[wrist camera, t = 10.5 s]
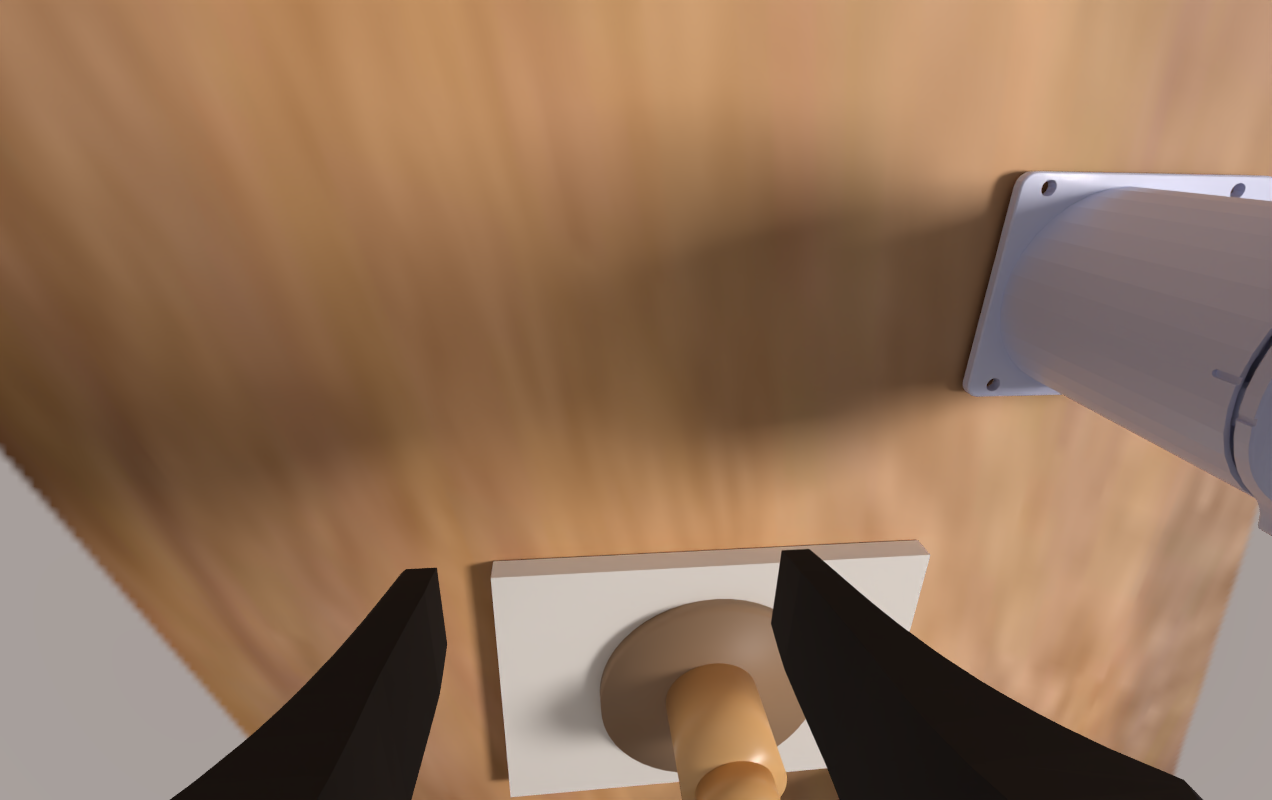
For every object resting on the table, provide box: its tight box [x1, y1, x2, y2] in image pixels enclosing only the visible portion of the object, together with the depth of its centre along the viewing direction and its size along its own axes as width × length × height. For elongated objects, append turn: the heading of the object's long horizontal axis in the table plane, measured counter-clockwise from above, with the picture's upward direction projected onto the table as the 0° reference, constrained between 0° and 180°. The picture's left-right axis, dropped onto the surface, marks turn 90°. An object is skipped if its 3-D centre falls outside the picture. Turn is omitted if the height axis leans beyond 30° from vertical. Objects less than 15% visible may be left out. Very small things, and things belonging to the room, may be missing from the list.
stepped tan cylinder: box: [666, 663, 787, 800], centre depth 24 cm, size 4×4×6 cm
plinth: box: [491, 540, 930, 797], centre depth 27 cm, size 18×13×2 cm
